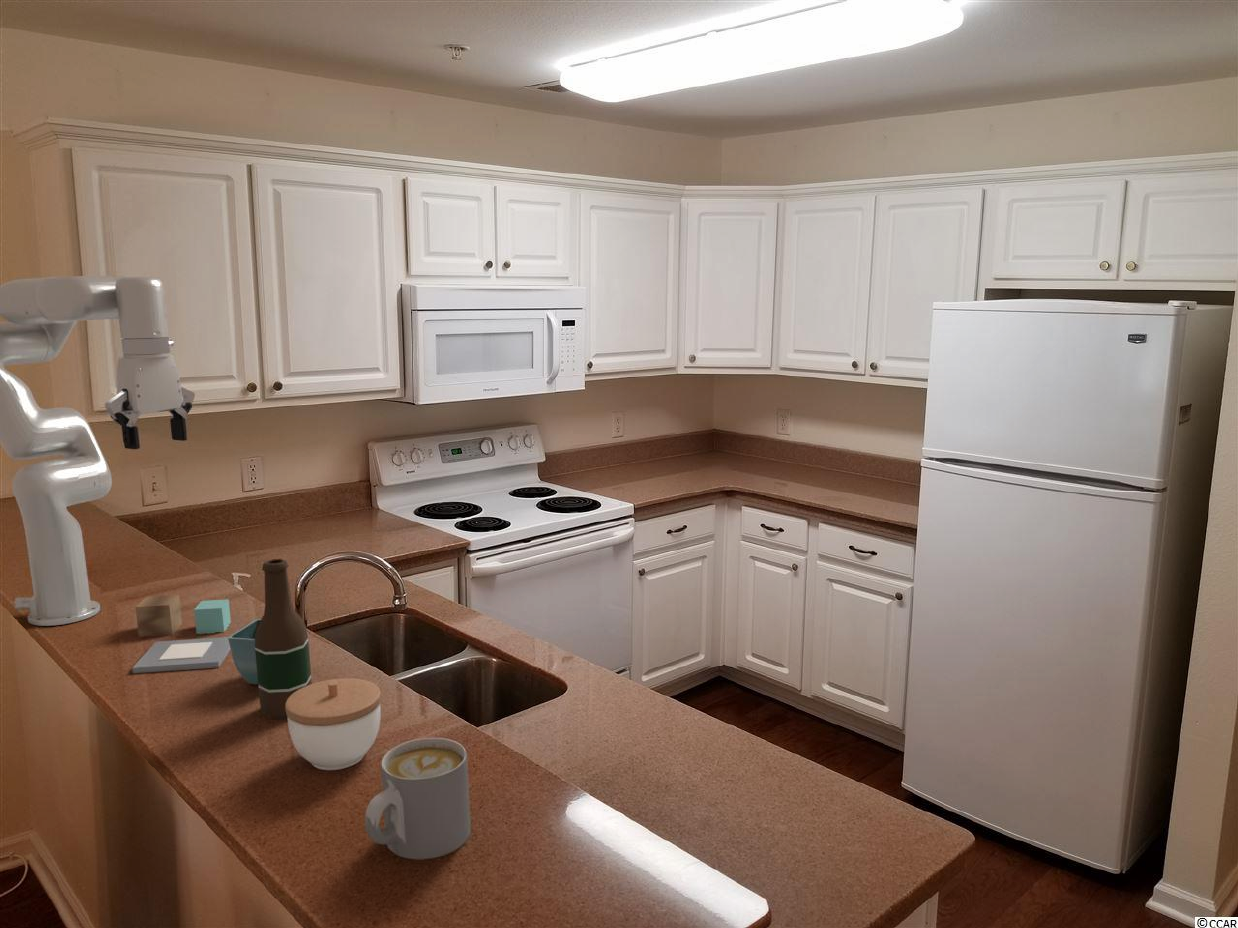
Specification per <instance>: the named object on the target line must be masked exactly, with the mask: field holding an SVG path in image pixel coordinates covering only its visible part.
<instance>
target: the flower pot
mask: <svg viewBox="0 0 1238 928" xmlns="http://www.w3.org/2000/svg"><path fill="white" fill-rule="evenodd" d="M261 619H262V618H258V619H257V618H256V619H254V620H253V621H251V622H250V623H248V624H247V625H246V626H244V627H242V628H240V629H239V630H238V631H236V632H234V633H232V634H231V635H229V636H227V637H228V640H229V644H230V648H231V650H230V653H231V656H232V658H233V659H232V660H233V662H234V663H233V664H234V665H235V668H236V669H237V671H238V672H239V674H240V675H241V677H242V678H243V679H244V680H245V681H246V682H247V683H248V684H250V685H258V676H257V665H256V654H255V634H256V630H257V627H258V624H259V623H260V621H261Z"/></svg>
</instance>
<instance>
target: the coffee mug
mask: <svg viewBox="0 0 1238 928" xmlns="http://www.w3.org/2000/svg"><path fill="white" fill-rule="evenodd" d="M380 766H381V768H380V769H381V770H380V771H381V781H382V782H381V783H382V784H381V785H382V791H381V792H379V793H378V794H376V795H375V796H374V797H372V799H371V800H370V802H369V803H368V805H367V807H366V811H365V816H364V824H365V830H366V834H367V836H368V837H369V839H370V840H371V841H373V842H374V843H375V844H378V845H387V848H388V849H389V850H390V851H391V852H392V853H393V854H395V855H396V856H399V857H402V858H405V859H409V860H429V859H436V858H440V857H443V856H446V855H448V854H450V853H452V852H455V851H456V850H458V849H460V847H462V846H463V845H464V844H465V843H466V842H467V841H468V840H469V837H470V835H471V832H472V831H471V830H472V829H471V811H470V810H471V808H470V807H471V806H470V790H469V789H470V786H469V784H470V783H469V767H468V753H467V750H466V748H465V747H464V745H463V744H461V743H460V742H457V741H456V740H453V739H449V738H443V737H422V738H417V739H412V740H408V741H406V742H405V741H404V742H403V743H400V744H397V745H395V746H394V747H393V748H391V749H390V750H388V751H387V752H386V753H385V754H384V755H383V757H382V760H381V764H380ZM382 815H384V828H381V818H382Z"/></svg>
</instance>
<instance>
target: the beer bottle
mask: <svg viewBox="0 0 1238 928" xmlns="http://www.w3.org/2000/svg"><path fill="white" fill-rule="evenodd" d="M288 567H289V563H288V561H287V560H285V559H282V558H273V559H269V560H268V559H267V560H266V561H265V562H264V563H263V564H262V569H261V570H262V571H263V572H264V610H263V611H264V612H263V613H264V614H263V616H262V617H261V618H260V619H261V621H260V623H259V624H258V627H257V630H256V634H255V654H256V665H257V676H258V684H257V685H258V696H259V697H258V698H259V704H260V711H261V713H262V715H264V716H266V717H268V718H269V719H270V720H284V719H287V720H288V718H287V714H286V708H285V705H286V701H287V699H288V698H289V697H290V696H291V695H292V694H293V693H294V692H296V691H297V690H299V689H301V688H303V687H305V686H308V685H311V684H313V683H312V670H311V660H310V659H311V657H310V647H309V635H308V629H307V626H306V624H305V622H304V620H303V618H302V617H301V616H300V615H299V613H298V612H297V611H296V610H295V608H294V605H293V602H292V597H291V596H292V595H291V589H290V583H289V576H288V570H287V569H288Z"/></svg>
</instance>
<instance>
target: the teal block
mask: <svg viewBox="0 0 1238 928" xmlns="http://www.w3.org/2000/svg"><path fill="white" fill-rule="evenodd" d="M230 609H231V608H230V601H229V599H211V600H201V601H200V602H199V604H198V605H197V606H196V607H195V608H194V609H193V611H194V612H193V613H194V620H195V621H194V622H195V630H196V631H195V632H196V635H205V633H207V634H216V633H215V632H223V633H225V632H226V631H225V630H228V628H229V627H228V626H230V625H231V624H232V623H231V622H232V621H231V611H230ZM230 623H231V624H230ZM229 624H230V625H229ZM227 627H228V628H227ZM224 631H225V632H224Z"/></svg>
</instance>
